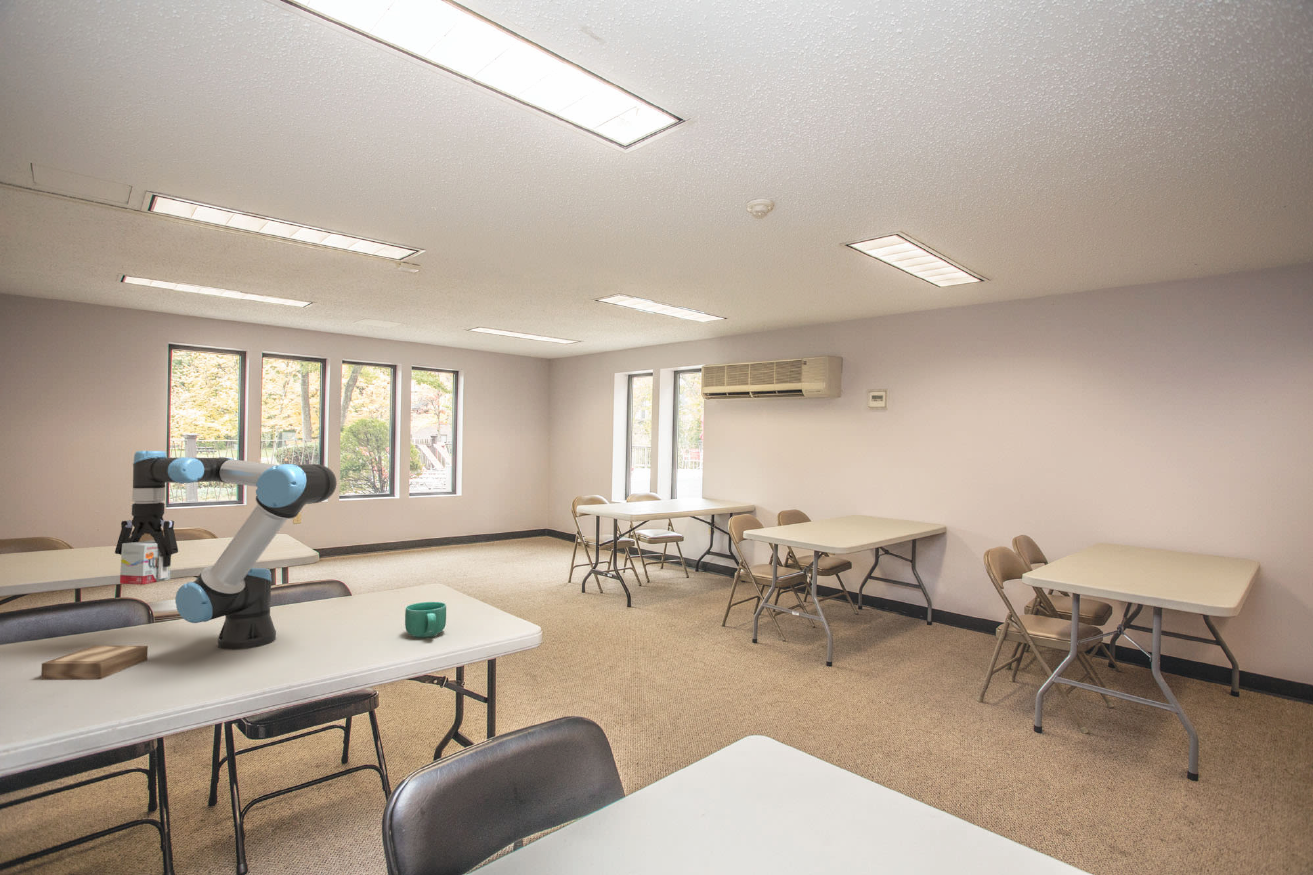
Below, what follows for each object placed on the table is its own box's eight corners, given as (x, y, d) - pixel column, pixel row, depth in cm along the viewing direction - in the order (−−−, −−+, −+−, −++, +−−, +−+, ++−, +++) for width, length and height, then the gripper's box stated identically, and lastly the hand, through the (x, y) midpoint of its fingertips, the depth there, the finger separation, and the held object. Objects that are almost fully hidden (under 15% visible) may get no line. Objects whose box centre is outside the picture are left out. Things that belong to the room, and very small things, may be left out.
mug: (403, 632, 203) (404, 603, 203) (443, 628, 208) (444, 599, 208) (406, 646, 188) (407, 615, 188) (449, 641, 193) (450, 611, 194)
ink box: (142, 585, 177) (143, 544, 177) (118, 583, 179) (120, 543, 179) (171, 579, 185) (172, 540, 186) (148, 578, 187) (150, 539, 188)
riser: (147, 659, 173) (147, 645, 174) (100, 678, 158) (101, 662, 159) (92, 660, 173) (93, 645, 173) (41, 679, 158) (41, 663, 158)
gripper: (195, 501, 187) (192, 575, 186) (121, 501, 186) (119, 575, 186) (176, 503, 179) (173, 580, 179) (99, 502, 179) (96, 580, 178)
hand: (145, 577), depth 182 cm, fingers closed on ink box, 9 cm apart
